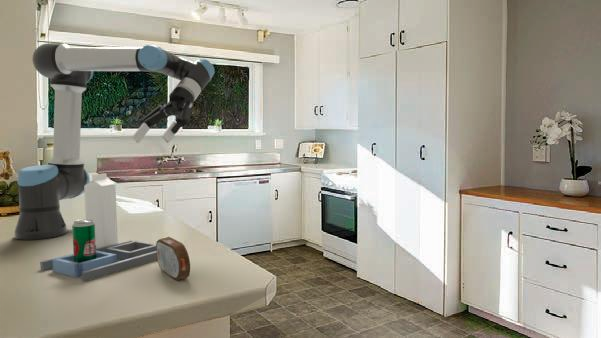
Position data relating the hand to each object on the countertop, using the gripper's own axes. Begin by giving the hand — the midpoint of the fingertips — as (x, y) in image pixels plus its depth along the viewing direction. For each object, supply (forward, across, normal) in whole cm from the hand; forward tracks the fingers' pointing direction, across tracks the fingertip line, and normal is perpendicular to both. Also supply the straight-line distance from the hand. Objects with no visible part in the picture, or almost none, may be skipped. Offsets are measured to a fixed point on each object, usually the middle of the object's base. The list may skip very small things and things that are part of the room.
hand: (149, 140), depth 133 cm
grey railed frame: (+37, -8, -8) cm, 39 cm away
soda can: (+42, -8, -3) cm, 43 cm away
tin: (+37, -31, -8) cm, 49 cm away
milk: (+31, +7, -14) cm, 35 cm away
